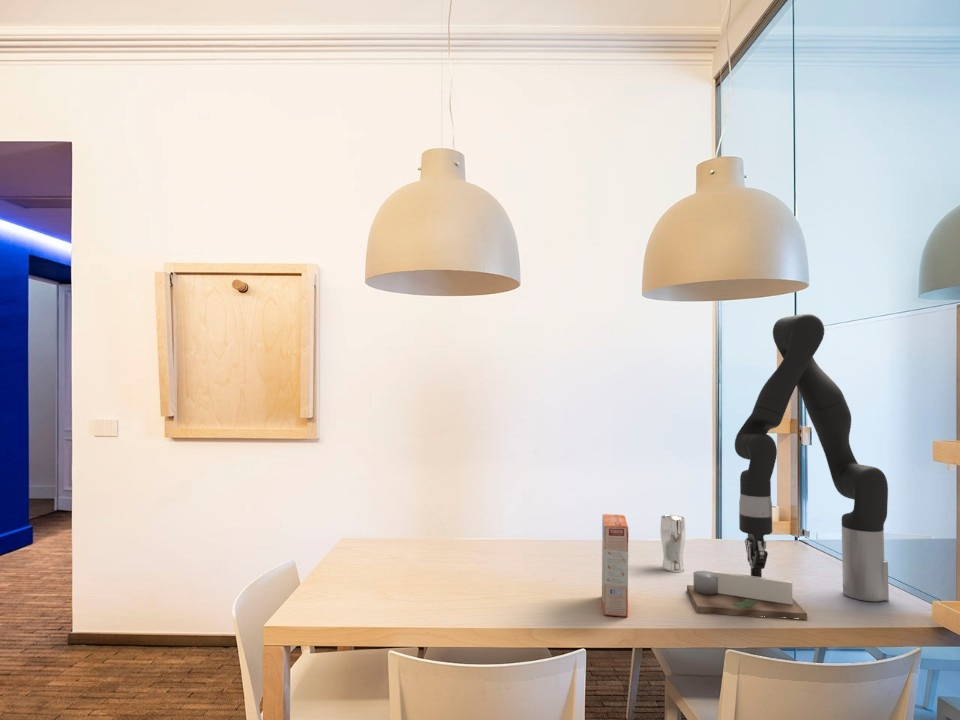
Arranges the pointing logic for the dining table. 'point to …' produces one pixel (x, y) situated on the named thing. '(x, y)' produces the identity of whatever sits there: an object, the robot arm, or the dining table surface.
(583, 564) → the dining table surface
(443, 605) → the dining table surface
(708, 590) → the lever handle
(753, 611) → the brown wooden board
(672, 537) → the beer glass
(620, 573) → the cracker box
